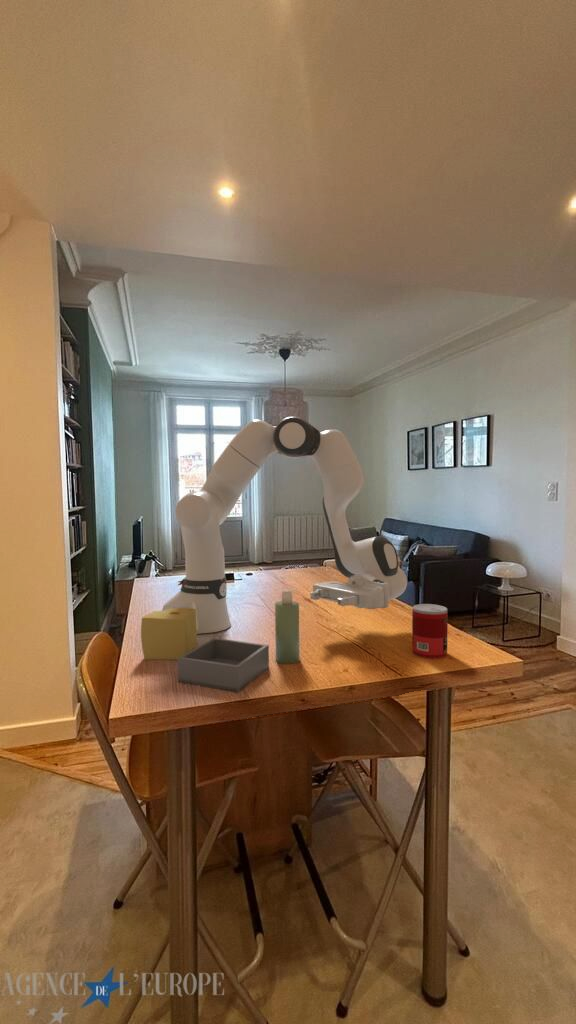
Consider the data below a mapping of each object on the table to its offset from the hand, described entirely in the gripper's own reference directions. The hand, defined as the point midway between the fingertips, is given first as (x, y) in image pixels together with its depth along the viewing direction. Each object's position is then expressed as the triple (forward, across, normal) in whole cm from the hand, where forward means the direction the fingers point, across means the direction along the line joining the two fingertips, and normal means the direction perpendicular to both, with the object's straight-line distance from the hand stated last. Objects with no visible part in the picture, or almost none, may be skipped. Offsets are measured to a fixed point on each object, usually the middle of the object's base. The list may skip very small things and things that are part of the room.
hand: (325, 599), depth 117 cm
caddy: (+28, -3, +12) cm, 31 cm away
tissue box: (+30, -23, +12) cm, 40 cm away
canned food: (-15, +19, +13) cm, 28 cm away
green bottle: (+12, 0, +12) cm, 17 cm away
